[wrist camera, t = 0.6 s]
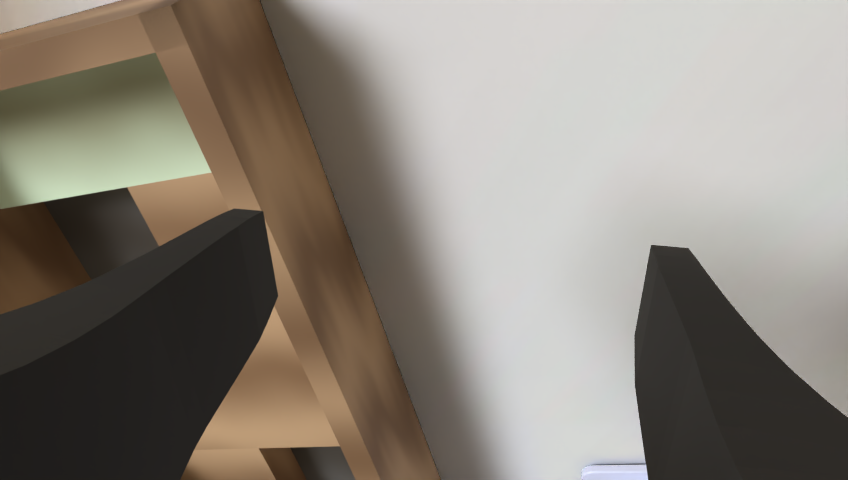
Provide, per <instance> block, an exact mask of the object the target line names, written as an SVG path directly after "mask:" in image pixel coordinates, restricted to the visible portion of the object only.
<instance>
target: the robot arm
mask: <svg viewBox="0 0 848 480" xmlns="http://www.w3.org/2000/svg"><path fill="white" fill-rule="evenodd" d="M277 298H278V292H277V286H276V280H275V275H274V269H273V263H272V258H271V252H270V246H269V241H268V235H267V229H266V224H265V218H264V212H263V211H258V210H246V209H235V208H234V209H232V210H229V211H227V212H224V213H222V214H220V215H218V216H216V217H214V218H212V219H210V220H208V221H206V222H204V223H202V224H200V225H198V226H196V227H195V228H193V229H191V230H189V231H187V232H185V233H183V234H182V235H180V236H178V237H176V238H174V239H172V240H170V241H168V242H167V243H165V244H163V245H161V246H159V247H157V248H155V249H153V250H152V251H150V252H148V253H146V254H144V255H142V256H140V257H138V258H136V259H134V260H132V261H130V262H128V263H126V264H124V265H122V266H119V267H117V268H115V269H113V270H111V271H109V272H107V273H105V274H103V275H101V276H99V277H97V278H95V279H93V280H90V281H88V282H86V283H84V284H81V285H79V286H76V287H74V288H72V289H69V290H67V291H64V292H62V293H59V294H57V295H54V296H52V297H49V298H47V299H44V300H41V301H39V302H36V303H33V304H31V305H27V306H24V307H21V308H18V309H15V310H12V311H9V312H6V313H3V314H0V480H180V479H181V477H182V475H183V473H184V471H185V468H186V466H187V464H188V462H189V460H190V458H191V456H192V454H193V451H194V449H195V447H196V446H197V444H198V442H199V440H200V438H201V436H202V435H203V433H204V431H205V429H206V427H207V426H208V424H209V423H210V421H211V419H212V418H213V416H214V414H215V413H216V411H217V409H218V408H219V406H220V405H221V403H222V401H223V400H224V398H225V396H226V395H227V393H228V392H229V390H230V388H231V387H232V385H233V383H234V382H235V380H236V379H237V377H238V375H239V374H240V372H241V370H242V369H243V367H244V365H245V364H246V362H247V360H248V359H249V357H250V355H251V354H252V352H253V350H254V349H255V347H256V345H257V344H258V342H259V340H260V338H261V336H262V334H263V332H264V329H265V327H266V325H267V323H268V320H269V318H270V315H271V313H272V310H273V308H274V305H275V303H276V300H277ZM635 388H636V396H637V404H638V411H639V418H640V425H641V432H642V439H643V447H644V454H645V461H646V465H591V466H587V467H585V468H583V469H582V472H581V480H848V417H846V416H845V415H844V414H842V413H841V412H840V411H839V410H837V409H836V408H835V407H834V406H832V405H831V404H830V403H829V402H828V401H826V400H825V399H824V398H823V397H822V396H821V395H819V394H818V393H817V392H816V391H815V390H814V389H813V388H811V387H810V386H809V385H808V384H807V383H806V382H805V381H803V380H802V379H801V378H800V377H799V376H798V375H797V374H795V373H794V372H793V371H792V370H791V369H790V368H789V367H788V366H787V365H786V364H785V363H784V362H783V361H782V360H781V359H780V358H779V357H778V356H777V355H776V354H775V353H774V352H773V351H772V350H771V349H770V348H769V347H768V346H767V345H766V344H765V343H764V342H763V341H762V340H761V338H760V337H759V336H758V335H757V334H756V333H755V332H754V331H753V330H752V329H751V327H750V326H749V325H748V324H747V323H746V321H745V320H744V319H743V318H742V317H741V315H740V314H739V313H738V312H737V311H736V310H735V308H734V307H733V306H732V305H731V304H730V302H729V301H728V300H727V298H726V297H725V296H724V295H723V293H722V292H721V291H720V290H719V288H718V287H717V286H716V284H715V283H714V282H713V280H712V279H711V278H710V276H709V275H708V274H707V272H706V271H705V270H704V268H703V267H702V266H701V264H700V263H699V261H698V260H697V259H696V257H695V256H694V255H693V254H692V252H691V251H690V250H689V249H688V248H679V247H668V246H657V245H651V249H650V254H649V260H648V265H647V271H646V276H645V282H644V287H643V293H642V298H641V304H640V309H639V315H638V320H637V326H636V331H635Z"/></svg>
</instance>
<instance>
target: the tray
mask: <svg viewBox="0 0 848 480" xmlns="http://www.w3.org/2000/svg"><path fill="white" fill-rule="evenodd" d="M234 208H235V209H246V210H258V211H263V212H264V218H265V224H266V229H267V235H268V241H269V246H270V252H271V258H272V263H273V269H274V275H275V280H276V286H277V292H278V298H277V300H276V303H275V305H274V308H273V310H272V313H271V315H270V318H269V320H268V323H267V325H266V327H265V329H264V332H263V334H262V336H261V338H260V340H259V342H258V344H257V345H256V347H255V349H254V350H253V352H252V354H251V355H250V357H249V359H248V360H247V362H246V364H245V365H244V367H243V369H242V370H241V372H240V374H239V375H238V377H237V379H236V380H235V382H234V383H233V385H232V387H231V388H230V390H229V392H228V393H227V395H226V396H225V398H224V400H223V401H222V403H221V405H220V406H219V408H218V409H217V411H216V413H215V414H214V416H213V418H212V419H211V421H210V423H209V424H208V426H207V427H206V429H205V431H204V433H203V435H202V436H201V438H200V440H199V442H198V444H197V446H196V447H195V449H194V451H193V454H192V456H191V458H190V460H189V462H188V464H187V466H186V468H185V471H184V473H183V475H182V477H181V479H180V480H441V479H440V476H439V474H438V471H437V468H436V466H435V463H434V460H433V458H432V455H431V453H430V450H429V447H428V445H427V442H426V439H425V437H424V434H423V431H422V429H421V426H420V423H419V421H418V418H417V416H416V413H415V410H414V408H413V405H412V402H411V400H410V397H409V394H408V392H407V389H406V386H405V384H404V381H403V379H402V376H401V373H400V371H399V368H398V365H397V363H396V360H395V357H394V355H393V352H392V349H391V347H390V344H389V342H388V339H387V336H386V334H385V331H384V328H383V326H382V323H381V320H380V318H379V315H378V312H377V310H376V307H375V305H374V302H373V299H372V297H371V294H370V291H369V289H368V286H367V283H366V281H365V278H364V275H363V273H362V270H361V268H360V265H359V262H358V260H357V257H356V254H355V252H354V249H353V246H352V244H351V241H350V238H349V236H348V233H347V231H346V228H345V225H344V223H343V220H342V217H341V215H340V212H339V209H338V207H337V204H336V201H335V199H334V196H333V194H332V191H331V188H330V186H329V183H328V180H327V178H326V175H325V172H324V170H323V167H322V164H321V162H320V159H319V157H318V154H317V151H316V149H315V146H314V143H313V141H312V138H311V135H310V133H309V130H308V127H307V125H306V122H305V120H304V117H303V114H302V112H301V109H300V106H299V104H298V101H297V98H296V96H295V93H294V90H293V88H292V85H291V83H290V80H289V77H288V75H287V72H286V69H285V67H284V64H283V61H282V59H281V56H280V53H279V51H278V48H277V46H276V43H275V40H274V38H273V35H272V32H271V30H270V27H269V24H268V22H267V19H266V16H265V14H264V11H263V9H262V6H261V3H260V1H259V0H121V1H118V2H114V3H111V4H107V5H103V6H100V7H96V8H93V9H89V10H85V11H82V12H78V13H75V14H71V15H68V16H64V17H60V18H57V19H53V20H50V21H46V22H42V23H39V24H35V25H32V26H28V27H24V28H21V29H17V30H14V31H10V32H6V33H3V34H0V314H3V313H6V312H9V311H12V310H15V309H18V308H21V307H24V306H27V305H31V304H33V303H36V302H39V301H41V300H44V299H47V298H49V297H52V296H54V295H57V294H59V293H62V292H64V291H67V290H69V289H72V288H74V287H76V286H79V285H81V284H84V283H86V282H88V281H90V280H93V279H95V278H97V277H99V276H101V275H103V274H105V273H107V272H109V271H111V270H113V269H115V268H117V267H119V266H122V265H124V264H126V263H128V262H130V261H132V260H134V259H136V258H138V257H140V256H142V255H144V254H146V253H148V252H150V251H152V250H153V249H155V248H157V247H159V246H161V245H163V244H165V243H167V242H168V241H170V240H172V239H174V238H176V237H178V236H180V235H182V234H183V233H185V232H187V231H189V230H191V229H193V228H195V227H196V226H198V225H200V224H202V223H204V222H206V221H208V220H210V219H212V218H214V217H216V216H218V215H220V214H222V213H224V212H227V211H229V210H232V209H234Z"/></svg>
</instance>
